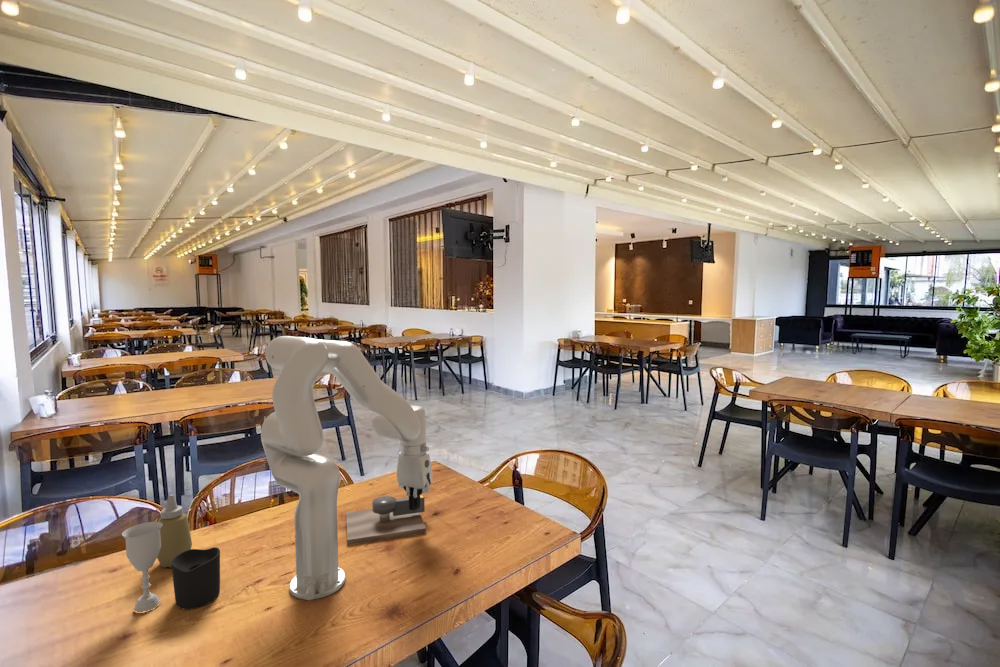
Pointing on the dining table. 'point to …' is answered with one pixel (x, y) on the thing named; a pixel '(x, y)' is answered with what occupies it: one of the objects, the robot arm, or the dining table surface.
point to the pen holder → (196, 577)
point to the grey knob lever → (395, 505)
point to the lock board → (381, 526)
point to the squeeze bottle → (173, 532)
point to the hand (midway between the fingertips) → (414, 508)
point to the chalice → (144, 557)
